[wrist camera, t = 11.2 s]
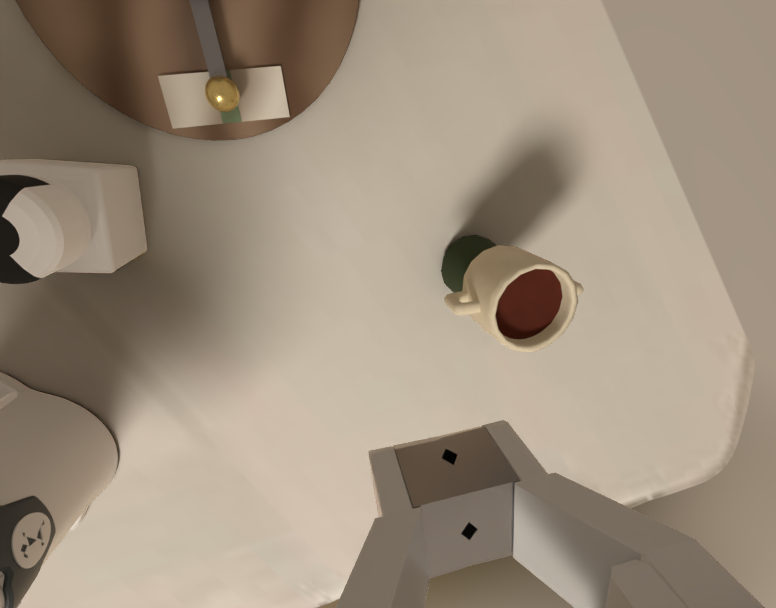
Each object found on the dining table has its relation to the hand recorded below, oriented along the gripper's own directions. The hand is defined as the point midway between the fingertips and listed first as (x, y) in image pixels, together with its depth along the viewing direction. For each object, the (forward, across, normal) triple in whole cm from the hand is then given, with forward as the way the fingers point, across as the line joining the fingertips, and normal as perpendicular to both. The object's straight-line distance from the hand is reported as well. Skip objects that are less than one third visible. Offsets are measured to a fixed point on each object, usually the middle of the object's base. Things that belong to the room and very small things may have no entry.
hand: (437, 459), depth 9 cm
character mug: (+31, +13, -6) cm, 34 cm away
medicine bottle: (+31, -19, +4) cm, 37 cm away
